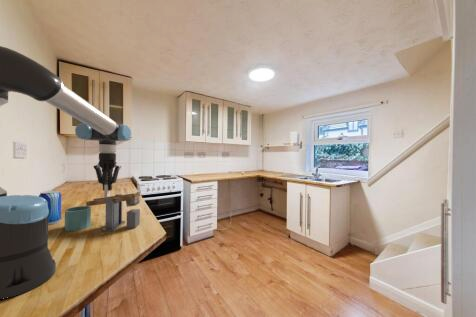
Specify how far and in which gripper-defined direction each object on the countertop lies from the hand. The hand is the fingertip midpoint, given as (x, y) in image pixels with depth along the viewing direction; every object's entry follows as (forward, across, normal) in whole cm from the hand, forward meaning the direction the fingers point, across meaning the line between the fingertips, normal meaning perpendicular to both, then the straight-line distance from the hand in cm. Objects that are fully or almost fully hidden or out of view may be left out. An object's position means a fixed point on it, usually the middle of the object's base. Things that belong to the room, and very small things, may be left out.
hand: (107, 196), depth 100 cm
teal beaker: (+13, +8, +9) cm, 18 cm away
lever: (+3, -9, +5) cm, 11 cm away
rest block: (+13, -18, +9) cm, 24 cm away
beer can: (+13, +26, +3) cm, 29 cm away
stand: (+13, -8, +9) cm, 18 cm away
